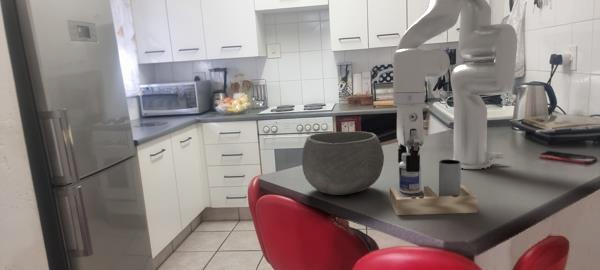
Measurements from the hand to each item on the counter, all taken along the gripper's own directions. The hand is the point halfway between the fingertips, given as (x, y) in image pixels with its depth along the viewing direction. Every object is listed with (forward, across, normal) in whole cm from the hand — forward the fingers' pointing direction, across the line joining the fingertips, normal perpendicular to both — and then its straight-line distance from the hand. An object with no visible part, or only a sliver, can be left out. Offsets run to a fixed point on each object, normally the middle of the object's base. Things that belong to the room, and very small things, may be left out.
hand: (408, 167), depth 101 cm
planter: (+7, -12, -7) cm, 15 cm away
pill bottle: (+7, +1, -1) cm, 7 cm away
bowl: (+7, +2, +16) cm, 18 cm away
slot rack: (+7, -12, -3) cm, 14 cm away
